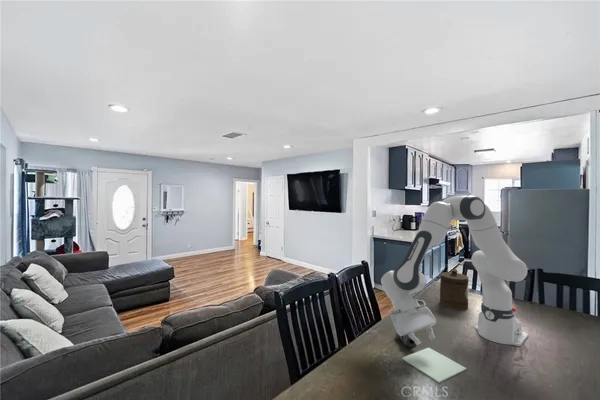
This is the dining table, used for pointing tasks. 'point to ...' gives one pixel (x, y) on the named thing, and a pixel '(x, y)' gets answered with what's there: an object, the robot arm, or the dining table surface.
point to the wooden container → (454, 290)
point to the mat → (434, 364)
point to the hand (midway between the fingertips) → (426, 341)
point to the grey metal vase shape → (406, 340)
